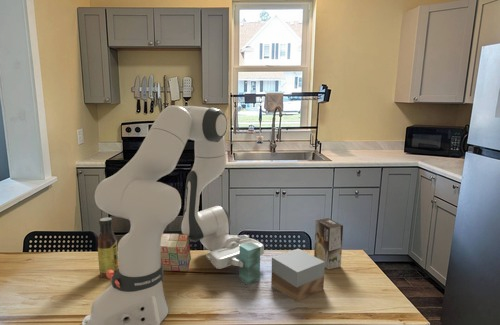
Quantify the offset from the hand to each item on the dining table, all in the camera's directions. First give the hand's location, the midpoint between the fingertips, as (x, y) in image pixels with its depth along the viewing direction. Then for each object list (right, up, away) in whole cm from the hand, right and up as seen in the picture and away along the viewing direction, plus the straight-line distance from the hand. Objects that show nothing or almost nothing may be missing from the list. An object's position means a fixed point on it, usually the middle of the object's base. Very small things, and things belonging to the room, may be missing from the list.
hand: (251, 262), depth 113 cm
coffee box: (+29, -5, +14) cm, 33 cm away
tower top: (+15, -3, -3) cm, 16 cm away
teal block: (-1, -6, +2) cm, 7 cm away
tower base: (+15, -8, -3) cm, 17 cm away
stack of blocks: (-33, -4, +10) cm, 34 cm away
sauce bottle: (-49, -6, +4) cm, 50 cm away
